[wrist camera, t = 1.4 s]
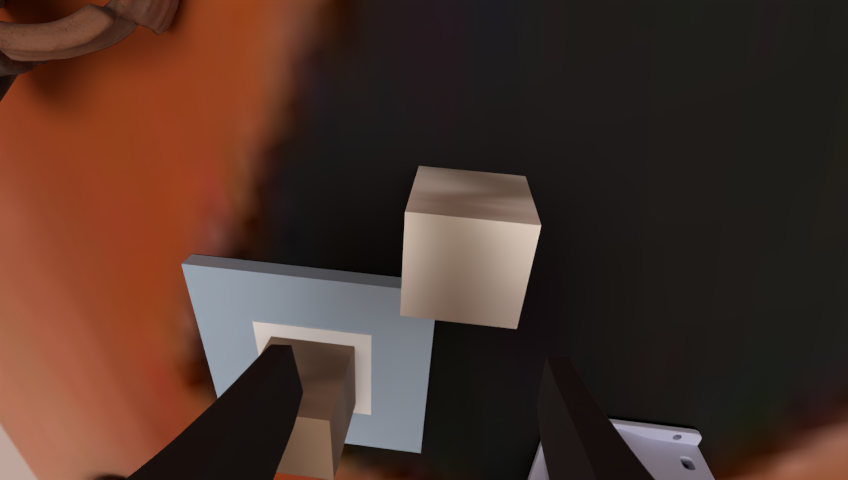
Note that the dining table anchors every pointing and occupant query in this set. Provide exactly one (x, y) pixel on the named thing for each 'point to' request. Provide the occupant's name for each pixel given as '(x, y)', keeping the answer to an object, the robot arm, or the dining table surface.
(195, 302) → the blueprint board
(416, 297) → the ivory cube
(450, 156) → the dining table surface
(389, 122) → the dining table surface
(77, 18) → the dark brown curved piece
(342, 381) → the walnut cube
